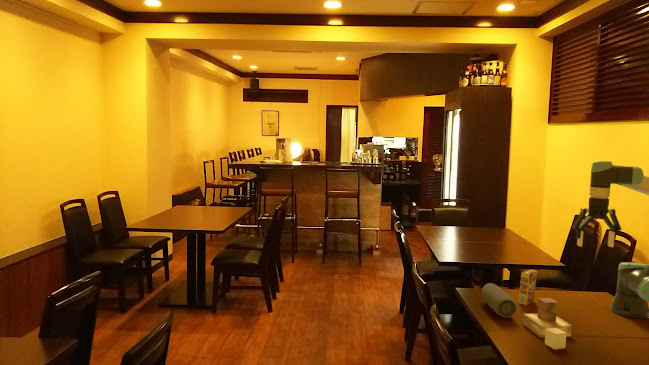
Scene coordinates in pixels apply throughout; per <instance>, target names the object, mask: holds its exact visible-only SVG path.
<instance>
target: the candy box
mask: <svg viewBox="0 0 649 365" xmlns="http://www.w3.org/2000/svg"><path fill="white" fill-rule="evenodd" d="M537 275H538V271H537V270H534V269H526V270H524V271H522V272H521V274H520V280H519V281H520V284H519V293H518V304H520V305H523V306H528V305H529V304H531V303H534V302H535V292H536V284H537Z"/></svg>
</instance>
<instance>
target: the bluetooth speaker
mask: <svg viewBox="0 0 649 365" xmlns="http://www.w3.org/2000/svg"><path fill="white" fill-rule="evenodd" d="M480 292H481V295H482V297H483V299H484V301H485V302H486V303H487V305H488V306H489V307H490V308H491V310H492V309H493V310H492V311H493V312H494V313H495V314H496V315H497V316H500V317H503V318H508V319H509V318H512V317H513V316H515V315H516V312H517V309H518V308H517V305H516V302H515V301H514V300H513V298H511V296H510V295H509V294H508V293H507V292H505V290H503V289H502V288H501V287H500V286H498V285H496V284H495V283H492V282H490V283H486V284H484V285H483V287H482V288H481V290H480Z"/></svg>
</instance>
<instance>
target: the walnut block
mask: <svg viewBox="0 0 649 365" xmlns="http://www.w3.org/2000/svg"><path fill="white" fill-rule="evenodd" d="M537 314H538V318H540V319H541V320H543V321H544V322H556V316H557V314H558V301H556V300H554V299H553V298H551V297H540V298H539V297H538V307H537ZM557 317H558V316H557Z"/></svg>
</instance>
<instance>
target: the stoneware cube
mask: <svg viewBox="0 0 649 365" xmlns="http://www.w3.org/2000/svg"><path fill="white" fill-rule="evenodd" d="M566 344H567V337H566V332H564V331H562V330H560V329H558V328H548V329H546V332H545V337H544V345H546V346H547V347H550V348H552V349H553V350H561V349H566Z"/></svg>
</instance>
